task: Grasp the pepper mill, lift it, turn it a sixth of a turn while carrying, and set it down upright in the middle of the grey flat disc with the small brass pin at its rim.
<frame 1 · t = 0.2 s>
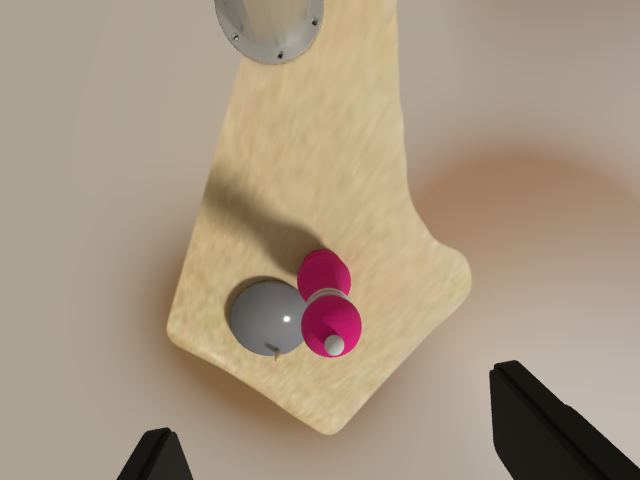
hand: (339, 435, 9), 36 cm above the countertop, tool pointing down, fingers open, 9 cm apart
grey flat disc: (271, 316, 48), on the countertop
pepper mill: (322, 269, 46), on the countertop
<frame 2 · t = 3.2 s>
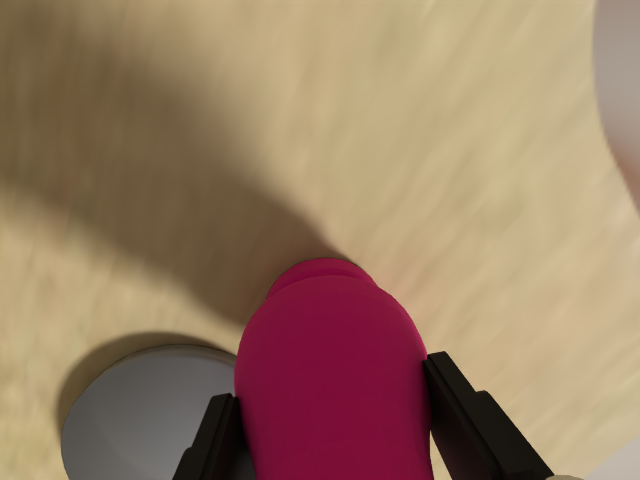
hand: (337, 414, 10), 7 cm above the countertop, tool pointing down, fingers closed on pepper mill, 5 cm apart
grey flat disc: (188, 438, 18), on the countertop
pepper mill: (324, 312, 16), on the countertop, touching gripper
when the fingers open (8 cm above the countertop, at t = 9.0 s): pepper mill stays where it is, resting on grey flat disc.
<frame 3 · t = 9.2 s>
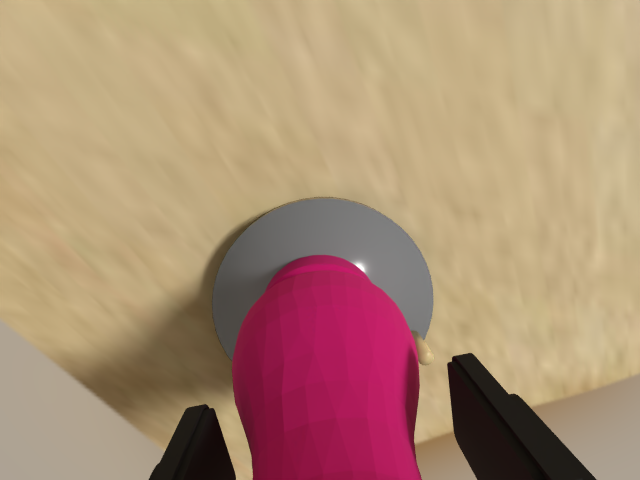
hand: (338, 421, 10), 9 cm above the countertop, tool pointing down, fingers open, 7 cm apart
grey flat disc: (323, 300, 18), on the countertop
pepper mill: (319, 307, 17), point 1 cm above the countertop, touching grey flat disc
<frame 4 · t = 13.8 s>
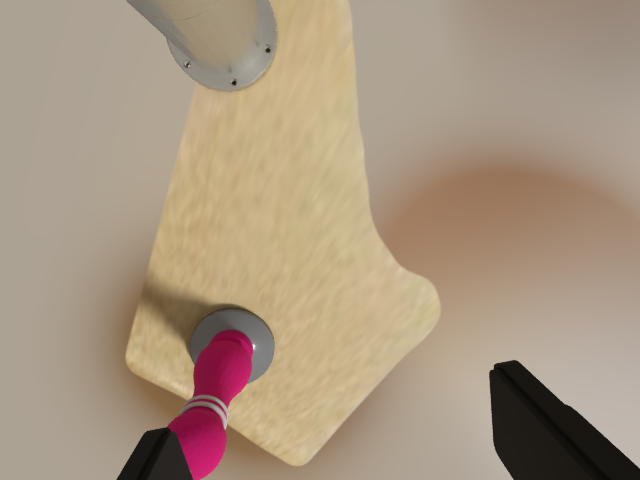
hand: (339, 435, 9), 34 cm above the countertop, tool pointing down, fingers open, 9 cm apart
grey flat disc: (233, 345, 46), on the countertop
pepper mill: (231, 347, 45), point 1 cm above the countertop, touching grey flat disc
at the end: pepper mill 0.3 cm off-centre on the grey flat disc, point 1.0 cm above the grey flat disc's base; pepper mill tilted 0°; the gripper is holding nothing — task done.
